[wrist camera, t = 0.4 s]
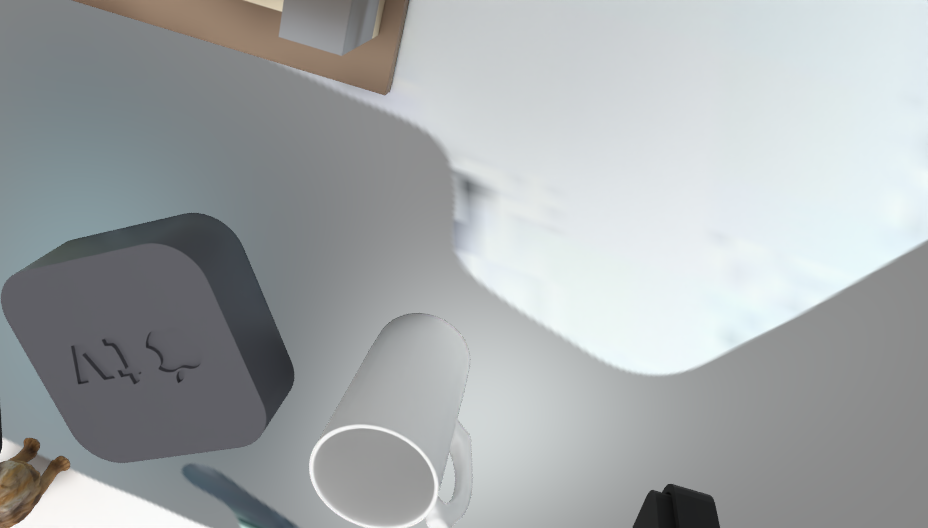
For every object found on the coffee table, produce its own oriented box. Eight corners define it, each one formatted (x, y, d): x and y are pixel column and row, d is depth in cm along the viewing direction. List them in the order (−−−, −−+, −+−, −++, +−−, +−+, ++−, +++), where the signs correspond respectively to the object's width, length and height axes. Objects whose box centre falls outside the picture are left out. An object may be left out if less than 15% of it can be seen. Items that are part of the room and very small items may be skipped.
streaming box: (227, 202, 47) (187, 234, 42) (308, 394, 52) (280, 442, 47) (40, 245, 50) (-17, 279, 46) (133, 421, 56) (91, 467, 51)
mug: (351, 338, 49) (282, 458, 38) (431, 289, 47) (380, 403, 36) (444, 447, 52) (403, 588, 41) (524, 406, 49) (503, 545, 38)
